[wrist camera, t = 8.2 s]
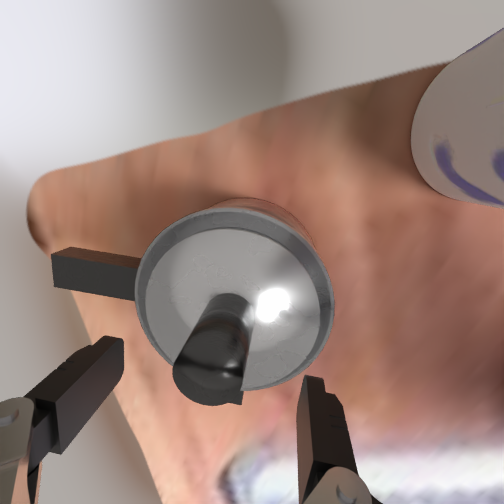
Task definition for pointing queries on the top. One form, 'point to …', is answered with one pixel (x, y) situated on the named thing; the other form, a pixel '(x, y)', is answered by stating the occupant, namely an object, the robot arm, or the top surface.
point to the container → (464, 127)
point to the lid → (231, 312)
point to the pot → (219, 215)
